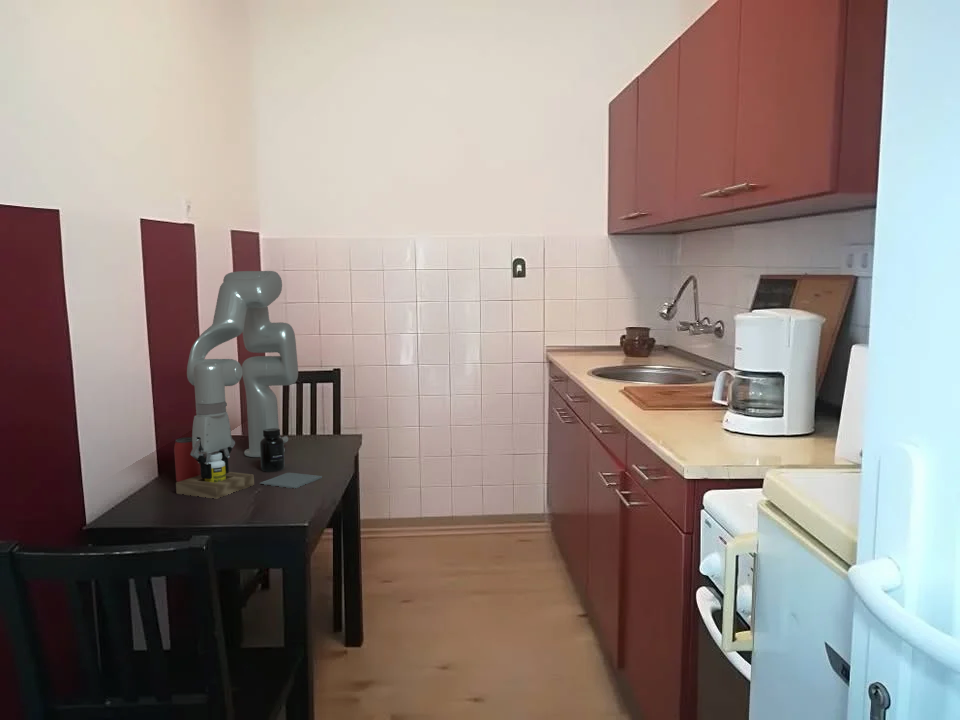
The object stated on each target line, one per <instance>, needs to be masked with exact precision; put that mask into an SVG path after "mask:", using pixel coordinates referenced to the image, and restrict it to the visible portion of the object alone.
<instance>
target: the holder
mask: <svg viewBox="0 0 960 720" xmlns="http://www.w3.org/2000/svg"><path fill="white" fill-rule="evenodd" d="M254 476H255V475H254V473H253V474H252V473H251V474H250V473H243V472H233V471H229V473H226V479H225V480H222V481H219V482H216V483H214V482H205V478H202V477H201V475H198V476H195V477H192V478H189V479H186V480H183V481H180V482H177V481H176V482H175V489H176V490H175V491H176V493H175V494H177V495H182V494H184V495H185V496H190V495H191V497H197V496H199V497H200V498H205V497H206V499H212V498H214V499H215V500H218V499H221V498H223V496H224V497H226V496H229V495H231V493H232V494H234V493H233V492H235V493H237V492H240V491H243V490H245V489H248V488H250V486H251V487H253V485H254V486H255V477H254ZM242 489H243V490H242ZM239 490H240V491H239ZM236 491H237V492H236ZM228 494H229V495H228ZM220 497H221V498H220Z"/></svg>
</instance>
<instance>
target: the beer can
mask: <svg viewBox="0 0 960 720" xmlns="http://www.w3.org/2000/svg"><path fill="white" fill-rule="evenodd" d="M174 442H175V443H174V446H173V447H174V448H173V453H174V454H173V455H174V467H175V481H176V482H180V481H183V480H186V479H189V478H192V477H195V476H198V475H201V465H200V464H199V463H198V461H197V460H196V459H195V458H194V457H192V456H191V451H192V449H193V446H192V436H191V437H189V436H188V437H187V436H186V437H180V438H177V439H175V441H174ZM199 454H200V452H199Z"/></svg>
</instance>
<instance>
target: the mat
mask: <svg viewBox="0 0 960 720" xmlns="http://www.w3.org/2000/svg"><path fill="white" fill-rule="evenodd" d="M322 478H323V475H316V474H314V475H313V474H308V473H307V474H306V473H298V472H297V473H296V472H285V473H283V474H279V475H278V476H275V477H274V476H273V477H272V478H269V479H267V480H264V481H260V482H259V485H260V484H264V485H263V486H267V485H271V486H270V487H275V486H279V487H278V488H283V487H286V488H285V489H292V488H294V489H295V488H296V489H298V488H301V487H303V486H305V484H306V485H308V484H311V483H313V482H315V481H318V480H320V479H322ZM300 486H301V487H300Z"/></svg>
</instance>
